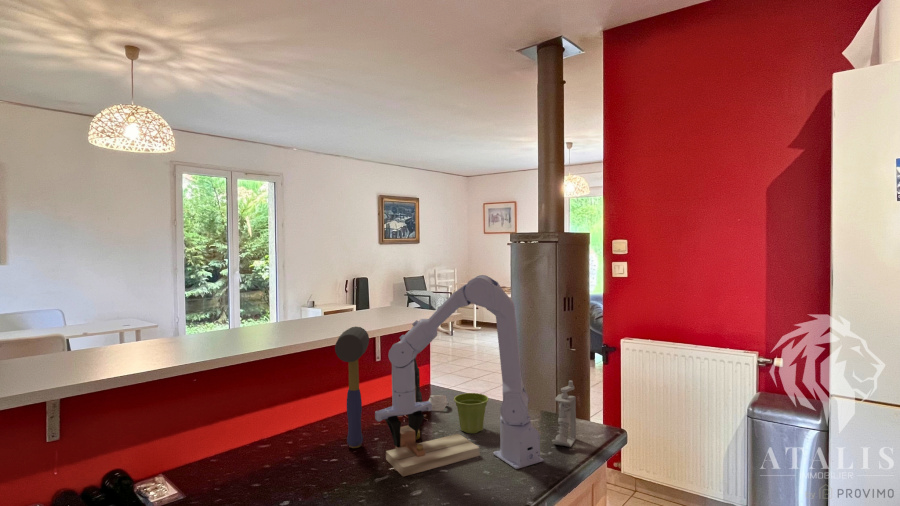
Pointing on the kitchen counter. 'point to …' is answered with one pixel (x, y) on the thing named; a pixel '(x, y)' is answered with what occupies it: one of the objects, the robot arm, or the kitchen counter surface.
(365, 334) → the rubber mallet
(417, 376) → the hammer
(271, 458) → the kitchen counter surface
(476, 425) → the plant pot
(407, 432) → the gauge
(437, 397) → the pale grey rock
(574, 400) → the clamp
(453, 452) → the board
